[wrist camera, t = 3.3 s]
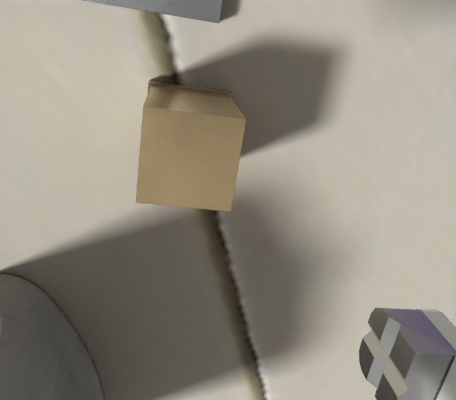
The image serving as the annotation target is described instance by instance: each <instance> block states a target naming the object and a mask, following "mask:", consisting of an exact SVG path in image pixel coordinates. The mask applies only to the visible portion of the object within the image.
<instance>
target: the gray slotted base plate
mask: <svg viewBox="0 0 456 400" xmlns="http://www.w3.org/2000/svg"><path fill="white" fill-rule="evenodd" d="M84 1H90V2H96V3H102V4H108V5H114V6H120V7H126V8H132V9H138V10H144V11H150V12H156V13H162V14H167V15H173V16H179V17H185V18H191V19H197V20H203V21H209V22H215V23H219V21H220V14H221V7H222V0H84Z"/></svg>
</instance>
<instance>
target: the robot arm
mask: <svg viewBox="0 0 456 400" xmlns="http://www.w3.org/2000/svg"><path fill="white" fill-rule="evenodd" d="M368 323H369V326H370V328H371V331H370V332H369V333H368V334H367V335H366V336H364V337H363V339H362V342H361V346H360V349H359V362H360V366H361V370H362V372H363V374H364V376H365V378H366V380H367V381H368V382H370V383H371V384H372V385H374V386H375V387H376V388H377V390H376V394H375V397H376V399H377V400H456V327H455V326H454V325H453V324H452V323H451V322H450V320H449V319H448V318H447V317H446V316H445V315H444V314H443V313H442V312H440V311H437V310H426V309H416V310H413V309H393V308H375V309H374V310H373V312H372V313H371V315H370V318H369V321H368ZM0 338H1V318H0Z"/></svg>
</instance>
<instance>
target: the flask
mask: <svg viewBox="0 0 456 400" xmlns="http://www.w3.org/2000/svg"><path fill="white" fill-rule="evenodd" d="M0 318H1V338H0V400H104V395H103V391H102V387H101V383H100V380H99V377H98V374H97V371H96V369H95V367H94V364H93V362H92V359H91V357H90V355H89V353H88V351H87V349H86V347H85V346H84V344H83V342H82V341H81V339H80V337H79V335H78V334H77V332H76V331H75V329H74V328H73V326H72V325H71V324H70V322H69V321H68V319H67V318H66V317H65V315H64V314H63V313H62V312H61V310H60V309H59V308H58V307H57V305H56V304H55V303H54V302H53V301H52V300H51V299H50V298H49V297H48V295H47V294H46V293H44V292H43V291H42V290H41V289H39V288H38V287H37V286H36V285H34V284H33V283H31V282H29V281H27V280H25V279H23V278H21V277H18V276H13V275H7V274H1V275H0Z"/></svg>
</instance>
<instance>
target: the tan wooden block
mask: <svg viewBox="0 0 456 400" xmlns="http://www.w3.org/2000/svg"><path fill="white" fill-rule="evenodd" d="M245 124H246V119H245V117H244V116H243V114H242V113H241V111H240V110H239V108H238V107H237V105H236V104H235V102H234V101H233V93H232V92H230V91H223V90H216V89H208V88H201V87H194V86H187V85H180V84H173V83H166V82H159V81H152V80H149V85H148V95H147V98H146V101H145V103H144V106H143V119H142V131H141V144H140V156H139V169H138V181H137V194H136V203H146V204H156V205H167V206H177V207H187V208H198V209H208V210H218V211H229V212H231V207H232V201H233V195H234V189H235V183H236V177H237V171H238V166H239V160H240V154H241V148H242V142H243V136H244V130H245Z"/></svg>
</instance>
